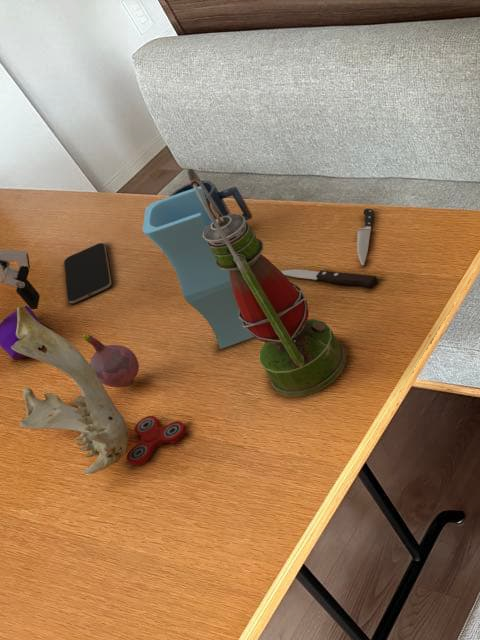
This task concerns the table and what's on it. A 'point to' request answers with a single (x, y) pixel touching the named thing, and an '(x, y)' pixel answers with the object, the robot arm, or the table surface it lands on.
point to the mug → (220, 198)
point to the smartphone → (87, 273)
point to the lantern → (272, 307)
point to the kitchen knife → (334, 277)
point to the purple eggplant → (12, 333)
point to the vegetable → (113, 363)
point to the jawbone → (94, 407)
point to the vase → (196, 262)
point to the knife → (364, 236)
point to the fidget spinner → (153, 438)
